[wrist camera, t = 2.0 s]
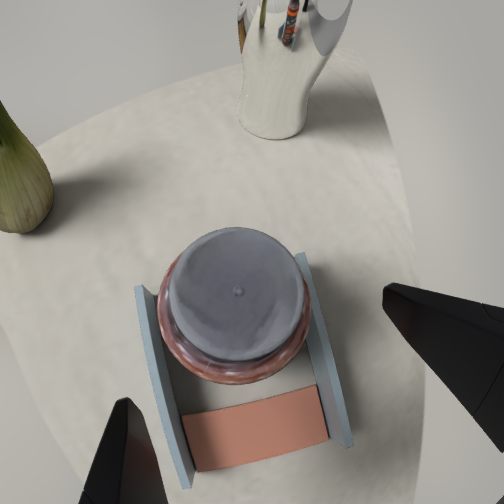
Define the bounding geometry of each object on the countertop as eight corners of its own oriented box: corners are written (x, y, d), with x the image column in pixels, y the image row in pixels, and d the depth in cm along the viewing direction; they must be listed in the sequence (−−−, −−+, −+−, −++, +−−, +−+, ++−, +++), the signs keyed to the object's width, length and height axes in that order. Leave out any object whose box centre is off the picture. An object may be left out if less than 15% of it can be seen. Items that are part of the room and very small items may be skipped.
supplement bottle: (286, 293, 20) (353, 224, 10) (266, 382, 18) (320, 414, 8) (197, 271, 20) (172, 178, 10) (173, 359, 18) (113, 363, 8)
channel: (336, 435, 18) (353, 445, 15) (187, 471, 16) (182, 489, 13) (293, 266, 21) (304, 252, 18) (145, 296, 19) (133, 286, 17)
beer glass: (242, 82, 27) (259, -61, 12) (314, 100, 27) (362, -38, 12) (219, 132, 24) (226, -41, 10) (302, 154, 24) (365, -11, 10)
